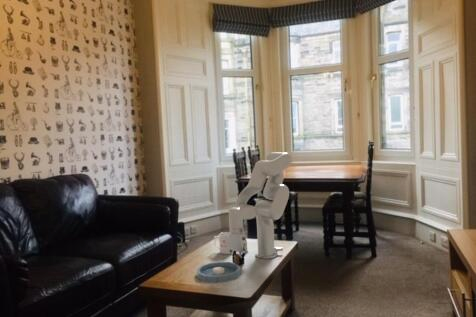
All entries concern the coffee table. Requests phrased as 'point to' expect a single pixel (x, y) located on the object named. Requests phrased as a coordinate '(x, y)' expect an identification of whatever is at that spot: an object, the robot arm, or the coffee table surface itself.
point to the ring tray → (218, 272)
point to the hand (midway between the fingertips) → (238, 262)
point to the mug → (223, 243)
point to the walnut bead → (236, 258)
